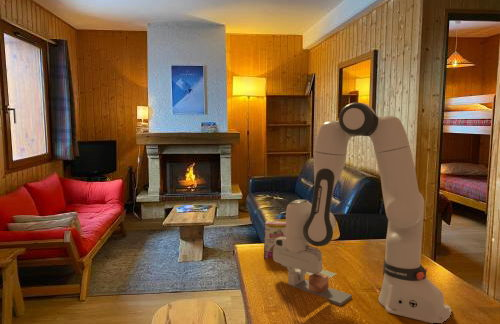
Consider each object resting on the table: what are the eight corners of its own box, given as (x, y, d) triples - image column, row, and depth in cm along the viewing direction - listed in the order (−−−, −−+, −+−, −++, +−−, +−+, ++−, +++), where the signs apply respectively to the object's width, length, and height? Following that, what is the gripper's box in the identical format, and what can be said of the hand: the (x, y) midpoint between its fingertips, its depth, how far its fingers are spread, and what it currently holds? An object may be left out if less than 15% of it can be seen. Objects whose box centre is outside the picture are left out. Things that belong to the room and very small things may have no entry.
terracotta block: (328, 289, 140) (328, 275, 139) (320, 293, 136) (321, 280, 136) (316, 285, 143) (316, 272, 143) (308, 289, 140) (309, 276, 139)
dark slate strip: (351, 297, 136) (352, 284, 135) (340, 305, 130) (340, 291, 129) (299, 280, 150) (299, 267, 150) (286, 286, 144) (287, 273, 144)
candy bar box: (263, 259, 172) (264, 223, 170) (264, 255, 177) (264, 220, 175) (289, 260, 171) (289, 224, 169) (289, 256, 176) (289, 221, 174)
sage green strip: (336, 276, 154) (337, 264, 153) (326, 282, 148) (326, 269, 147) (291, 262, 168) (291, 251, 168) (280, 267, 162) (280, 256, 162)
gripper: (326, 247, 140) (325, 283, 141) (280, 235, 153) (280, 269, 155) (316, 251, 135) (316, 289, 137) (270, 239, 149) (270, 274, 150)
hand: (296, 278), depth 146 cm, fingers closed on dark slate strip, 2 cm apart
